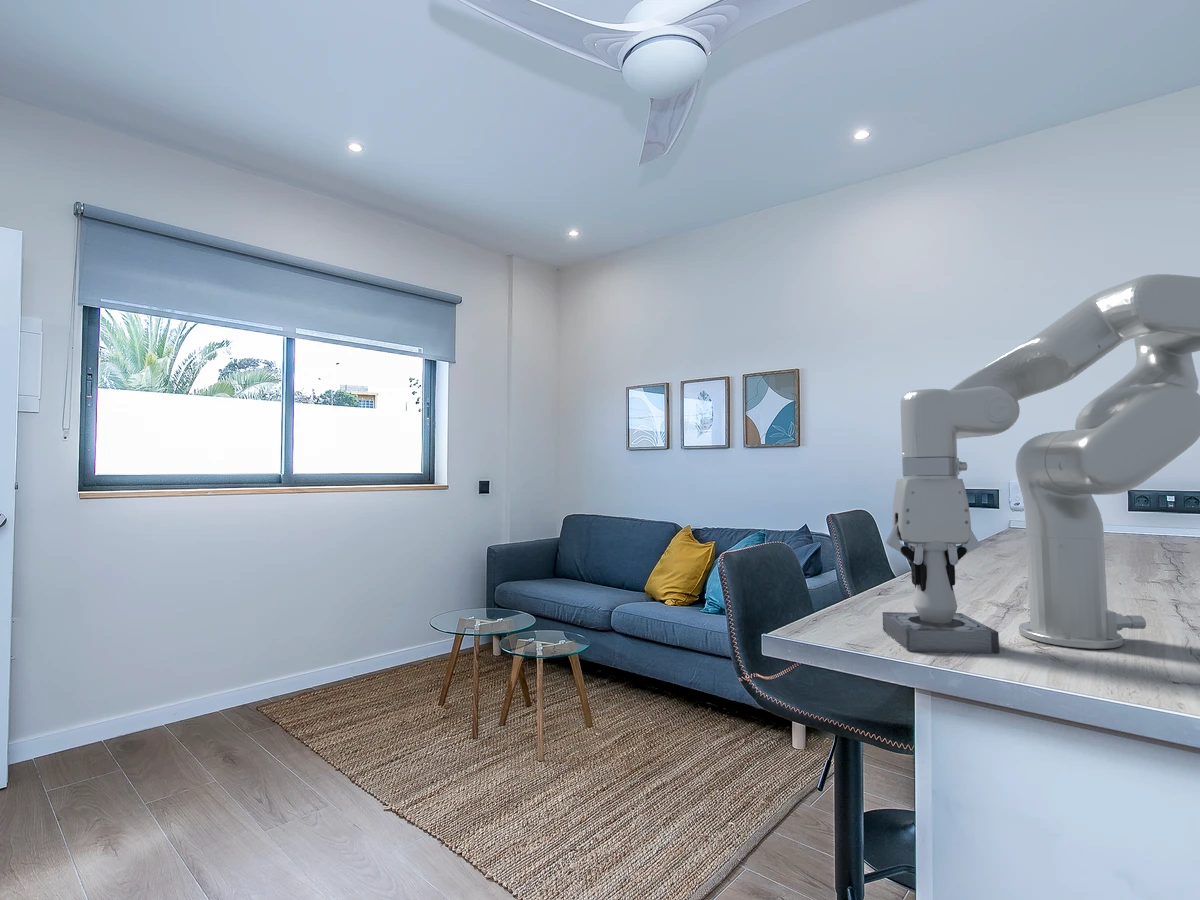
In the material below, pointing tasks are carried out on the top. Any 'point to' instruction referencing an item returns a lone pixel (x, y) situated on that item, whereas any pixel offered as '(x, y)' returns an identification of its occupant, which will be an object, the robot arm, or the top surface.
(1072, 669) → the top surface
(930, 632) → the block
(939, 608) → the salt shaker
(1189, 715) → the top surface
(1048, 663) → the top surface
